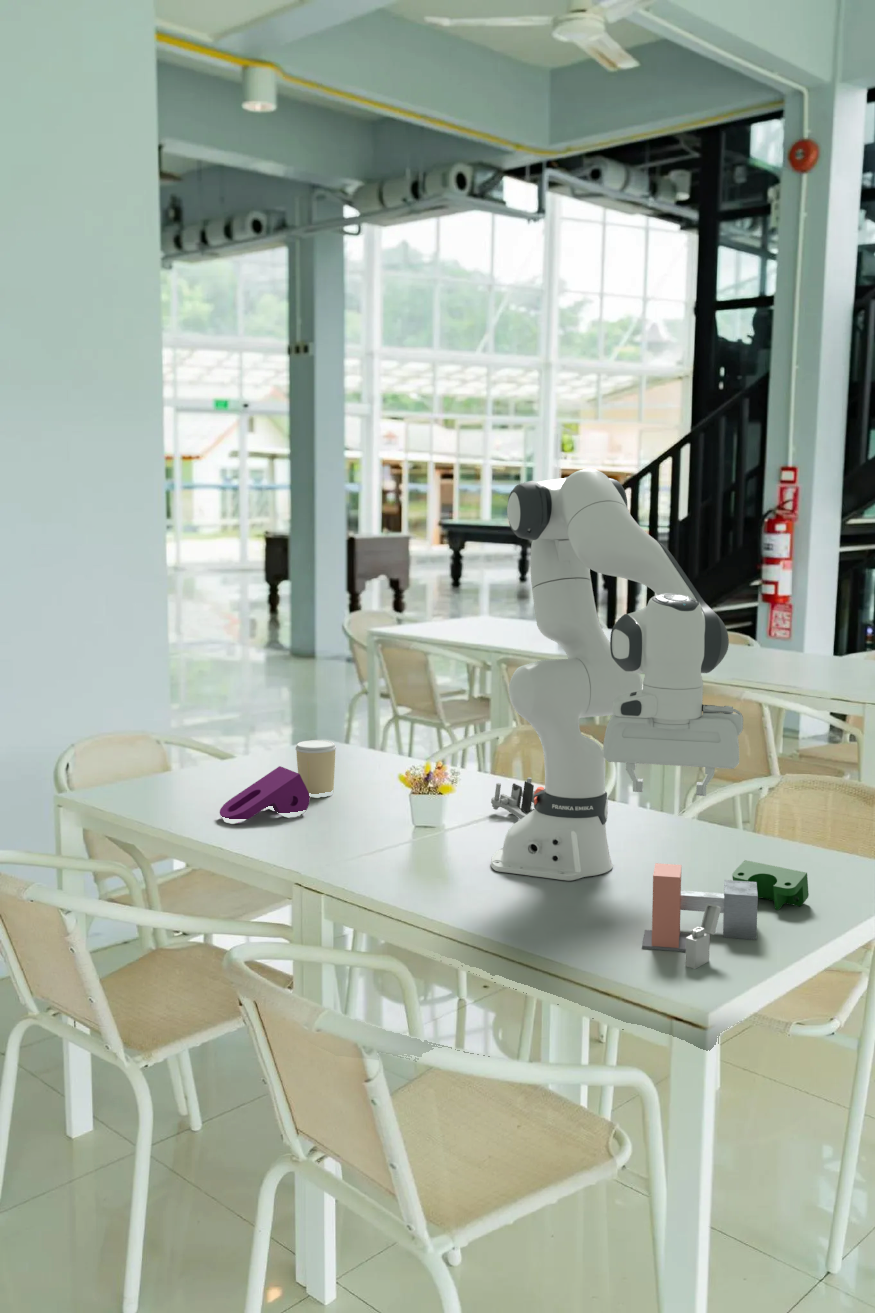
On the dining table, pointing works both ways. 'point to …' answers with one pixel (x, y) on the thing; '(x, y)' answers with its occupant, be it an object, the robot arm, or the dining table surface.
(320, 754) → the coffee cup
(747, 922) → the vise
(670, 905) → the tall salmon pink brick
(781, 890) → the clamp
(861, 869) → the dining table surface
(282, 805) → the mounting bracket
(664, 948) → the mat
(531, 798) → the bike brake
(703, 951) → the lighter
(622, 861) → the dining table surface
